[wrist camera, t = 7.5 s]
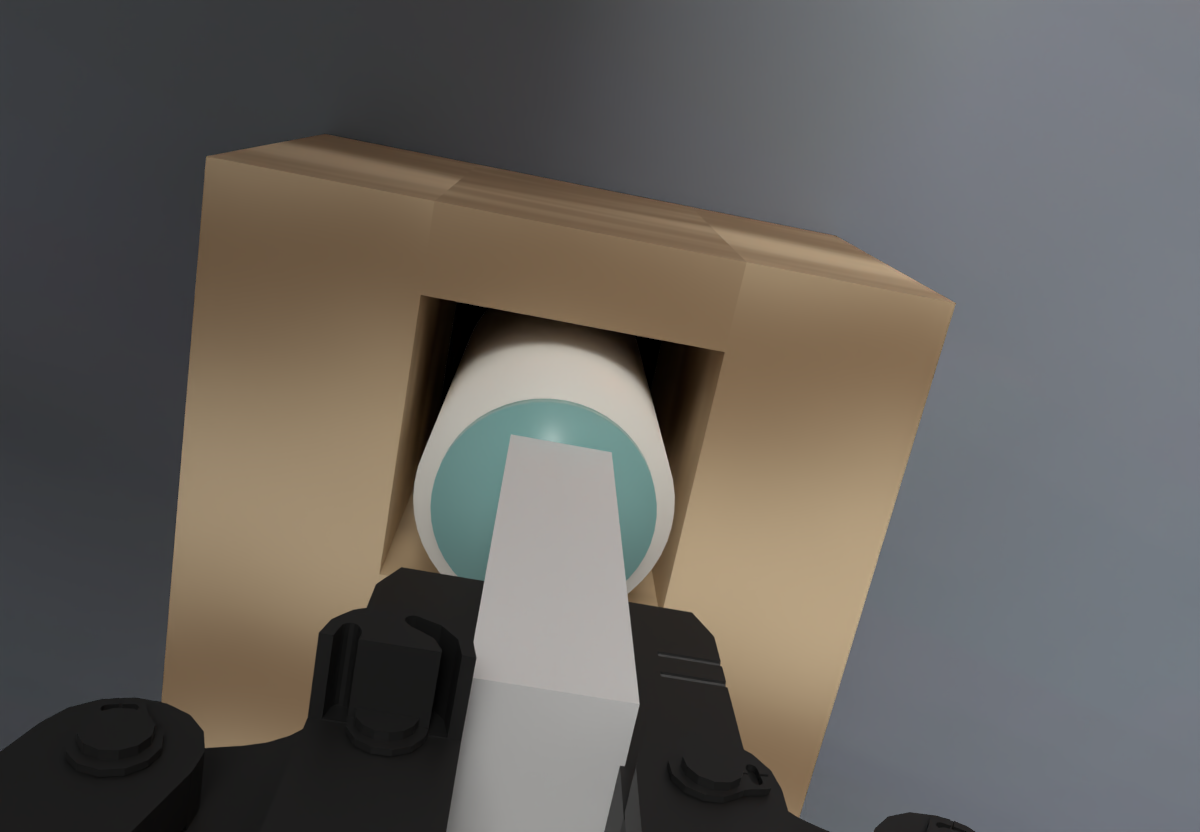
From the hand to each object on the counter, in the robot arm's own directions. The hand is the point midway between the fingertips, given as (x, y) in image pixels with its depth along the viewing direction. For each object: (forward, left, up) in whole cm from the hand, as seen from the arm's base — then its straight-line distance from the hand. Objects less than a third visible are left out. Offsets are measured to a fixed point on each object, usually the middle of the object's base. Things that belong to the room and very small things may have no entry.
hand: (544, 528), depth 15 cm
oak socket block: (+5, 0, -10) cm, 11 cm away
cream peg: (0, 0, -9) cm, 9 cm away
